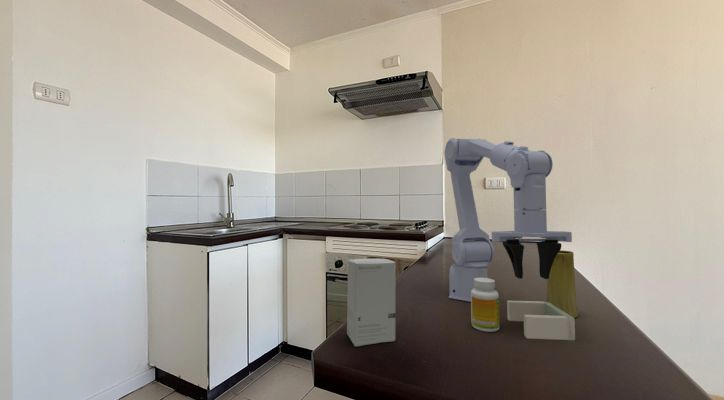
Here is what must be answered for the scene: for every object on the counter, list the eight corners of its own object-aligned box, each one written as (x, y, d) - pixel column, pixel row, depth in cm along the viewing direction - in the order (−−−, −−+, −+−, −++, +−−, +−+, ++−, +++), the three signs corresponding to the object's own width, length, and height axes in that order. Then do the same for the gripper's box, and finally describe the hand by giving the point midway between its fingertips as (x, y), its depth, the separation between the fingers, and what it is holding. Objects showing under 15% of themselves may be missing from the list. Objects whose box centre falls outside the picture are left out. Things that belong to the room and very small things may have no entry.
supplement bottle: (502, 333, 58) (501, 283, 59) (473, 331, 59) (472, 282, 60) (496, 322, 64) (495, 277, 64) (469, 321, 65) (468, 276, 65)
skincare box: (354, 348, 53) (353, 263, 53) (346, 334, 59) (345, 258, 59) (397, 341, 55) (396, 260, 56) (385, 328, 61) (384, 255, 62)
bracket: (526, 338, 56) (526, 316, 56) (507, 318, 66) (507, 300, 66) (575, 340, 55) (574, 318, 55) (548, 320, 65) (547, 301, 65)
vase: (567, 309, 71) (566, 249, 72) (584, 319, 65) (582, 253, 66) (540, 309, 72) (539, 249, 72) (554, 318, 66) (552, 253, 66)
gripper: (498, 210, 57) (500, 281, 57) (580, 209, 56) (582, 283, 55) (487, 210, 64) (489, 273, 64) (559, 209, 63) (561, 274, 62)
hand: (531, 277), depth 60 cm, fingers open, 4 cm apart
